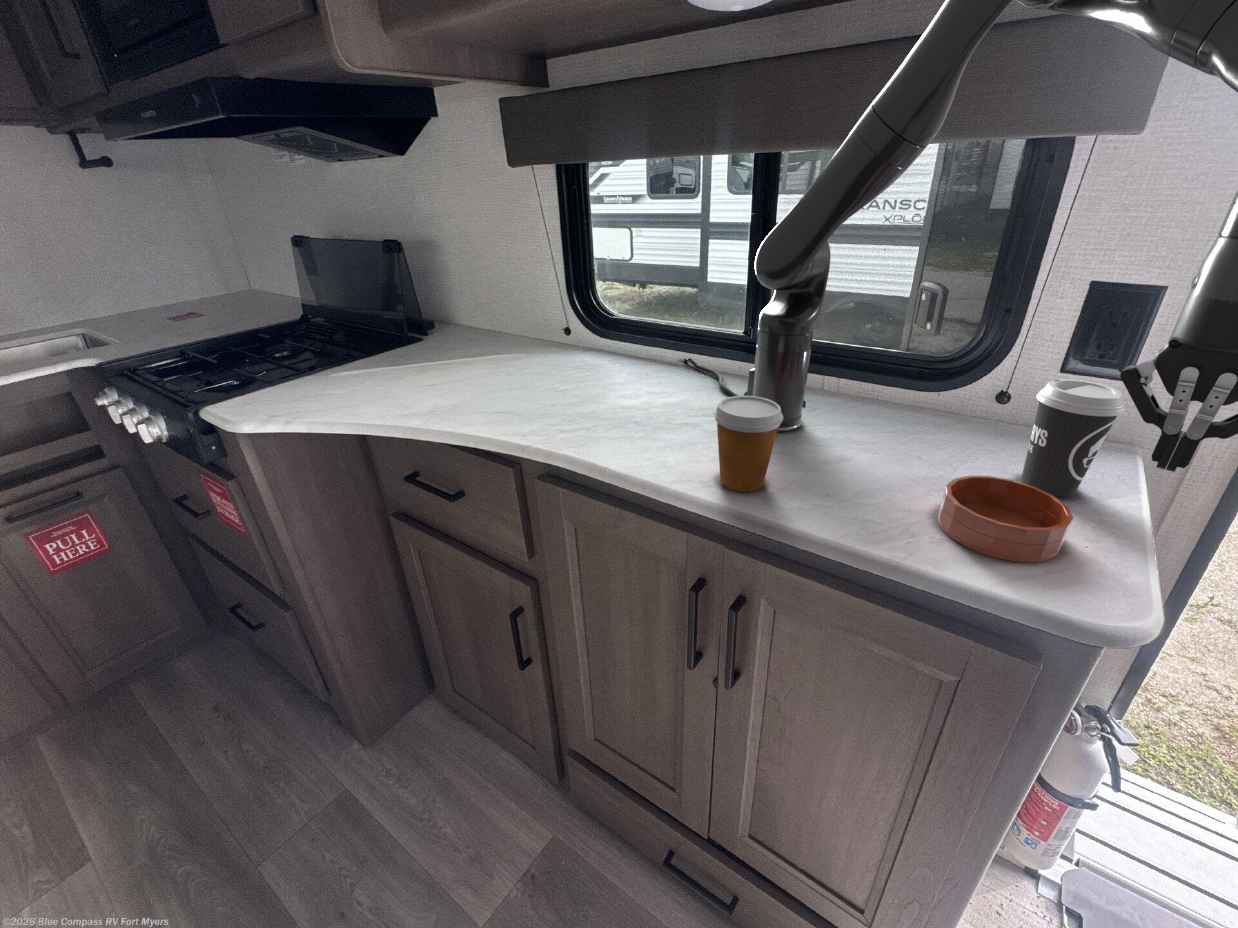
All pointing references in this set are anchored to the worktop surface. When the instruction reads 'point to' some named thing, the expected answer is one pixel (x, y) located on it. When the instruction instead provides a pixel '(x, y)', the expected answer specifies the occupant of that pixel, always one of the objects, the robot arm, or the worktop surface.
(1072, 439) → the coffee cup
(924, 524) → the worktop surface
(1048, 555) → the bowl
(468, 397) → the worktop surface
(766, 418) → the disposable coffee cup
